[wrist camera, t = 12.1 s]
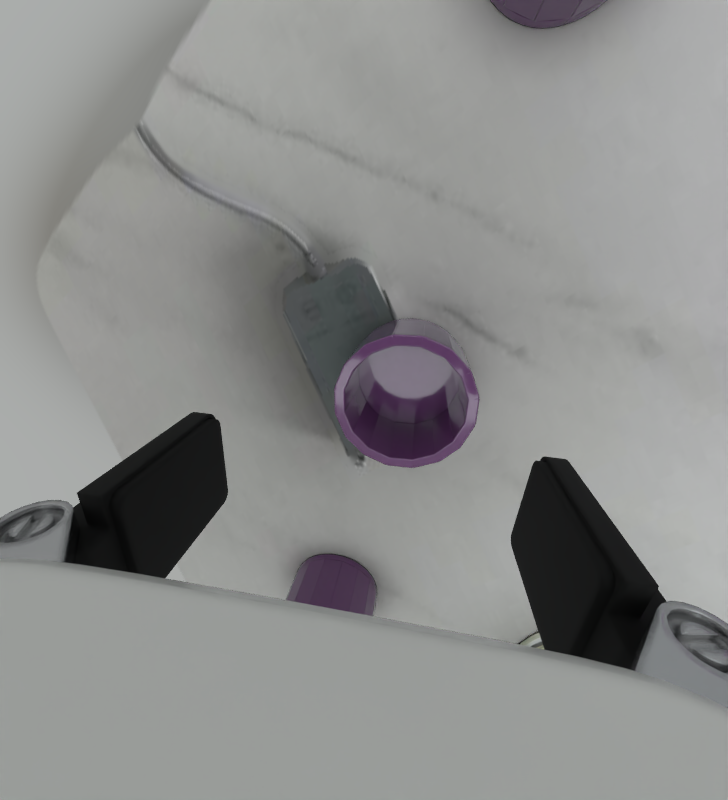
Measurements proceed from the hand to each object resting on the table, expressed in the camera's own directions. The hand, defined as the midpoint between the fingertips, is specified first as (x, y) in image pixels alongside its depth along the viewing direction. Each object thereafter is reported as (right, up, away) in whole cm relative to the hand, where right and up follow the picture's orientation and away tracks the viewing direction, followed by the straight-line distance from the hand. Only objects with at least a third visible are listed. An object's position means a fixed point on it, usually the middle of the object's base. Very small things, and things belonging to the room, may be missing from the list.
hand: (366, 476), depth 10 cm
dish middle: (+3, +4, +10) cm, 11 cm away
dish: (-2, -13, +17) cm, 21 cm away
